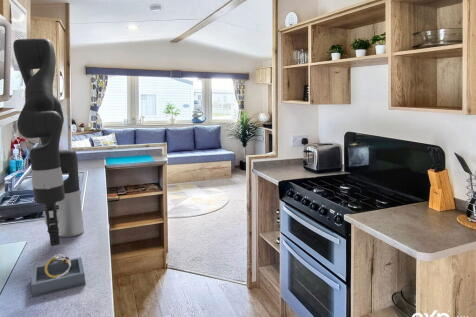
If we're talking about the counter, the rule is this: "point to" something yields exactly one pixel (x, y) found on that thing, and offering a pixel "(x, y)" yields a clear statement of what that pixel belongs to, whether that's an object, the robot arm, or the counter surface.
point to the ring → (57, 259)
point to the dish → (47, 285)
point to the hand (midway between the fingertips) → (55, 239)
